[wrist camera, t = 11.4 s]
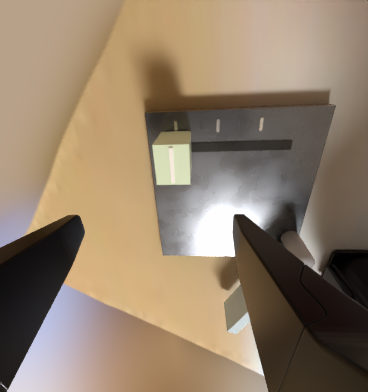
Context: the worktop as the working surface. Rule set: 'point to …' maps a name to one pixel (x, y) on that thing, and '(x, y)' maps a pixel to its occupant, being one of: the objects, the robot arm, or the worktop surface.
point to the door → (236, 302)
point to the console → (239, 173)
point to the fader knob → (173, 158)
